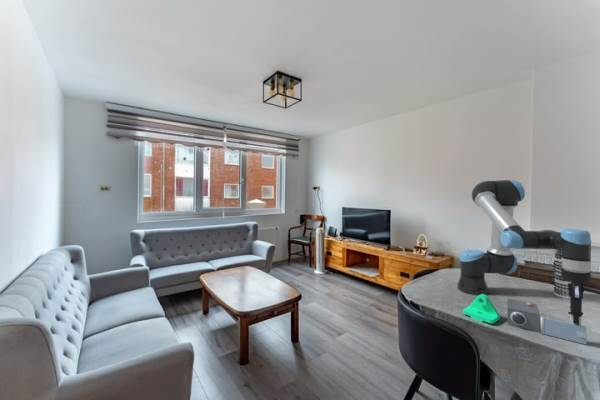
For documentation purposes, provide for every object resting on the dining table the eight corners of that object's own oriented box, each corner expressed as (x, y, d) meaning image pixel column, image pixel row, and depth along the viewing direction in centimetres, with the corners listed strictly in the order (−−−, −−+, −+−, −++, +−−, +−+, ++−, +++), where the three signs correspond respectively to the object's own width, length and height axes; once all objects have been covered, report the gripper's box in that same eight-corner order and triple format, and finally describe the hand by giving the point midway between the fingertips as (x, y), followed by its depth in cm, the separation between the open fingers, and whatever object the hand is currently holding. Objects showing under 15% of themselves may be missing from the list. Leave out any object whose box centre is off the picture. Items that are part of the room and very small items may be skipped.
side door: (540, 332, 100) (540, 316, 100) (586, 343, 92) (586, 326, 92) (540, 333, 99) (540, 317, 99) (587, 345, 91) (587, 327, 91)
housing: (507, 326, 106) (507, 307, 106) (507, 314, 116) (507, 297, 116) (540, 334, 99) (540, 314, 99) (537, 320, 109) (537, 302, 109)
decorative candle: (581, 300, 128) (580, 252, 128) (556, 297, 133) (555, 251, 133) (573, 294, 136) (573, 249, 136) (550, 291, 141) (550, 248, 141)
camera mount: (462, 315, 117) (461, 293, 116) (470, 311, 120) (469, 290, 120) (492, 326, 106) (491, 302, 106) (499, 321, 110) (499, 298, 110)
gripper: (560, 264, 101) (560, 321, 101) (561, 272, 92) (562, 334, 92) (588, 268, 96) (588, 328, 96) (593, 276, 87) (593, 342, 87)
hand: (575, 331), depth 94 cm, fingers closed
